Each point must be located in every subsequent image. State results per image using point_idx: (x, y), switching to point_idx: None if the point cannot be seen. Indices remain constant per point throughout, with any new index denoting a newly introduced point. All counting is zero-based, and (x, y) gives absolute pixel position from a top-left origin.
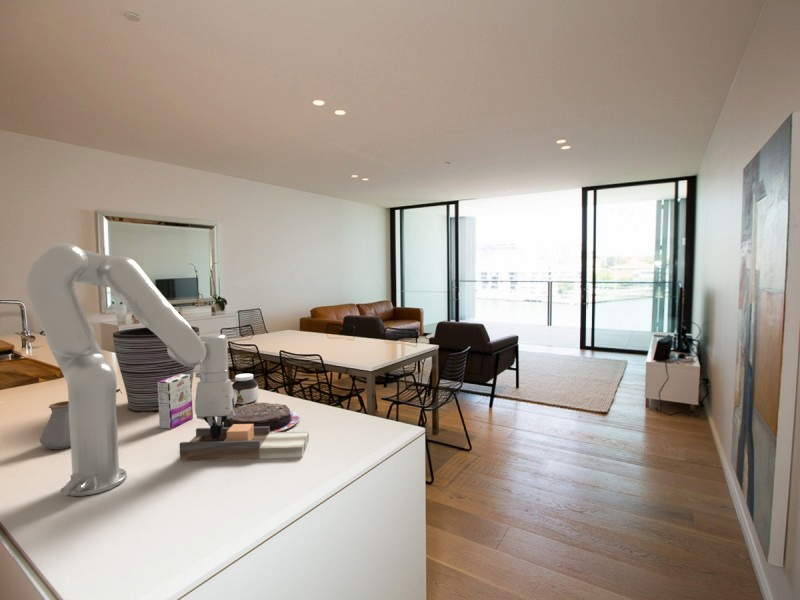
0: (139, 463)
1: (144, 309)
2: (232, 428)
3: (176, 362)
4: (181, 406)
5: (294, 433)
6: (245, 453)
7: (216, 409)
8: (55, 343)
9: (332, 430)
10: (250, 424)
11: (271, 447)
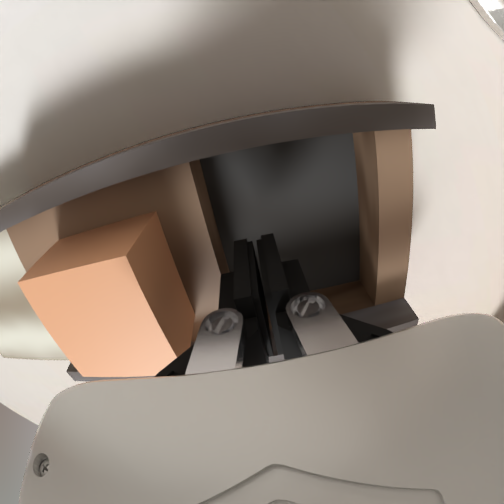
0: (493, 98)
1: None
2: (131, 315)
3: None
4: None
5: (16, 348)
6: (51, 180)
7: (177, 477)
8: None
9: (29, 385)
10: (87, 369)
11: None
